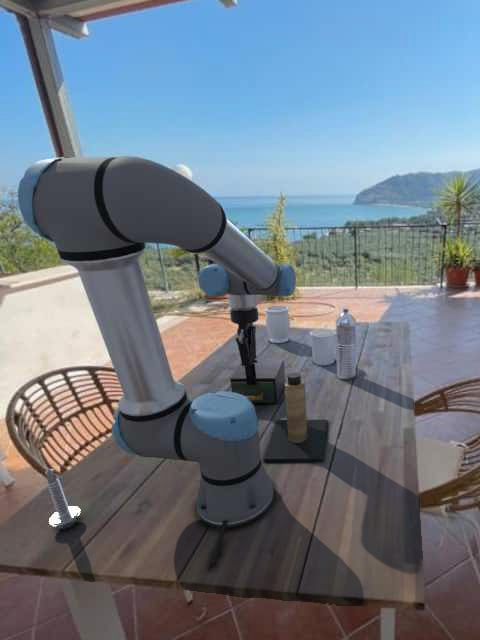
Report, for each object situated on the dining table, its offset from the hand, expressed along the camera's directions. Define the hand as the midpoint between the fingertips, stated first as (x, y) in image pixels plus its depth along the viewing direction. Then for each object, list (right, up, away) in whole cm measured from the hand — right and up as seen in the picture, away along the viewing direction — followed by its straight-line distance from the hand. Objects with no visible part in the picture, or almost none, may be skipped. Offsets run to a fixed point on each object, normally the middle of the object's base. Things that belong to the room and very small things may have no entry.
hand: (251, 384), depth 116 cm
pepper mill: (+16, -13, -14) cm, 25 cm away
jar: (-4, +15, +59) cm, 61 cm away
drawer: (0, -4, +8) cm, 9 cm away
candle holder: (+18, +6, +36) cm, 41 cm away
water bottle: (+28, +1, +23) cm, 36 cm away
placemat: (+16, -14, -14) cm, 25 cm away
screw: (-24, -24, -41) cm, 53 cm away
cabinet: (0, -3, +12) cm, 12 cm away
